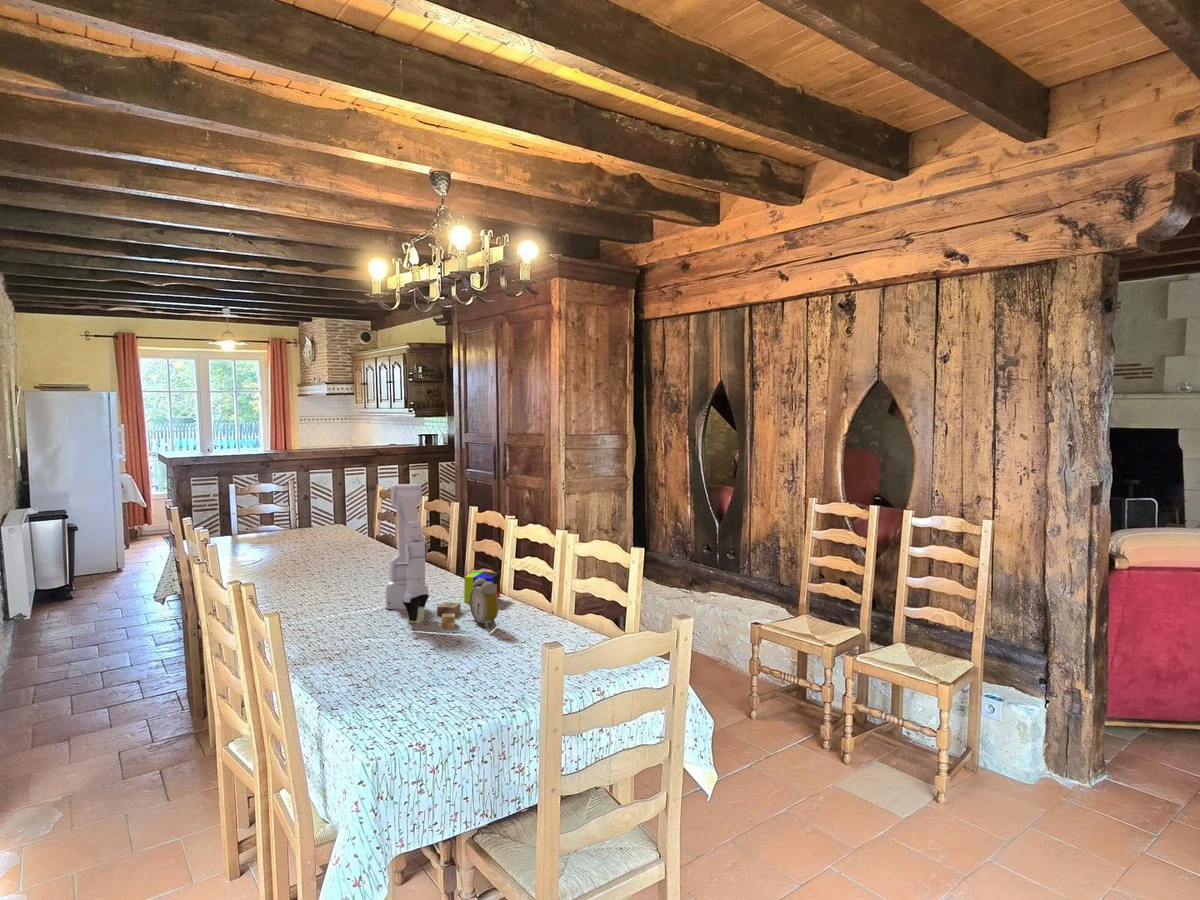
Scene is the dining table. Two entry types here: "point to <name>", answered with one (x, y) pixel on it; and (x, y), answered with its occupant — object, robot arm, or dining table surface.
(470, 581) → the puzzle toy
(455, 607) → the base block
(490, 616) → the alarm clock
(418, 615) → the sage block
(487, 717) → the dining table surface
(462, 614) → the build board
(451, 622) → the ochre block
